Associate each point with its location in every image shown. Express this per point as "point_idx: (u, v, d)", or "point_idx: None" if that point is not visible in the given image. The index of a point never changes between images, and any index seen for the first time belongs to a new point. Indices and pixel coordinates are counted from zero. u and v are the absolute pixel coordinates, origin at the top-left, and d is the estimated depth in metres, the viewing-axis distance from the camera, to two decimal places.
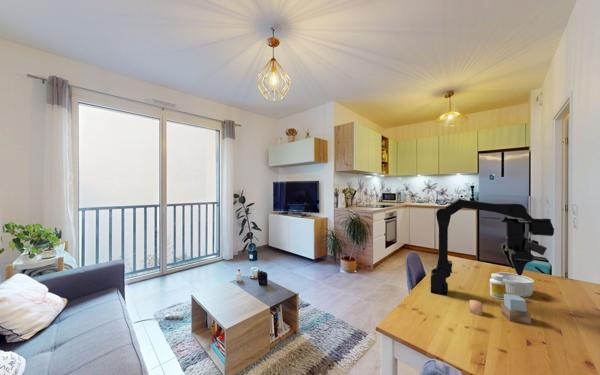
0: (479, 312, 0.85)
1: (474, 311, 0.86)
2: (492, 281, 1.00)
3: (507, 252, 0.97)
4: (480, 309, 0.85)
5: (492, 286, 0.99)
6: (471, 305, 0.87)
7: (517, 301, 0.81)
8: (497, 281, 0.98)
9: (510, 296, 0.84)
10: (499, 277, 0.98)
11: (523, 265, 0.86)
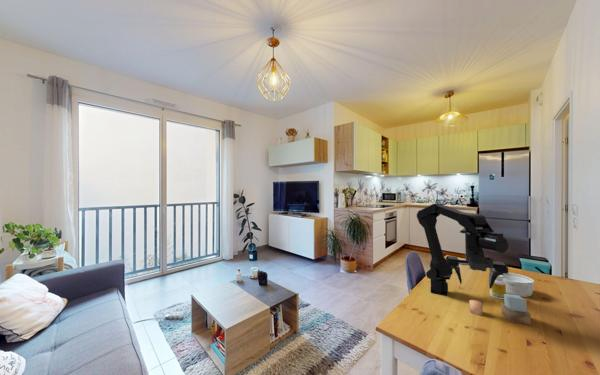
0: (479, 312, 0.85)
1: (474, 311, 0.86)
2: None
3: (490, 270, 0.86)
4: (480, 309, 0.85)
5: (492, 286, 0.99)
6: (471, 305, 0.87)
7: (518, 301, 0.81)
8: (497, 281, 0.98)
9: (510, 296, 0.84)
10: (499, 277, 0.98)
11: None
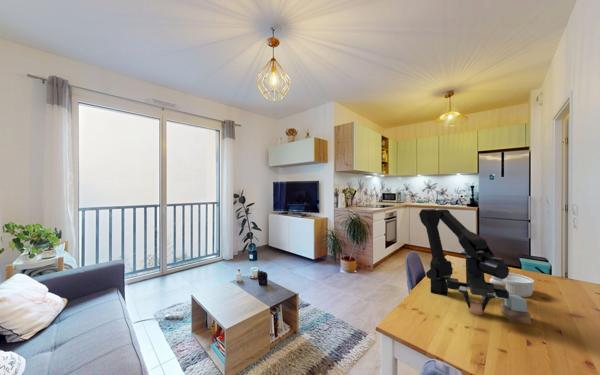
0: (479, 312, 0.85)
1: (474, 311, 0.86)
2: (492, 281, 1.00)
3: None
4: (480, 309, 0.85)
5: None
6: (471, 305, 0.87)
7: (518, 301, 0.81)
8: (497, 281, 0.98)
9: (511, 296, 0.84)
10: None
11: None
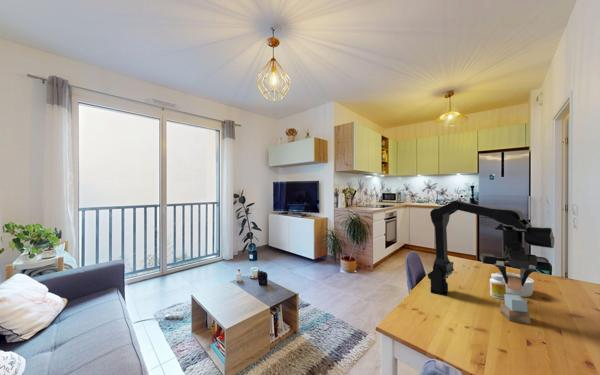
0: (518, 287, 0.81)
1: (513, 286, 0.82)
2: (492, 281, 1.00)
3: None
4: (519, 284, 0.81)
5: (492, 286, 0.99)
6: (509, 280, 0.83)
7: (518, 301, 0.81)
8: (497, 281, 0.98)
9: (511, 296, 0.83)
10: (499, 277, 0.98)
11: None
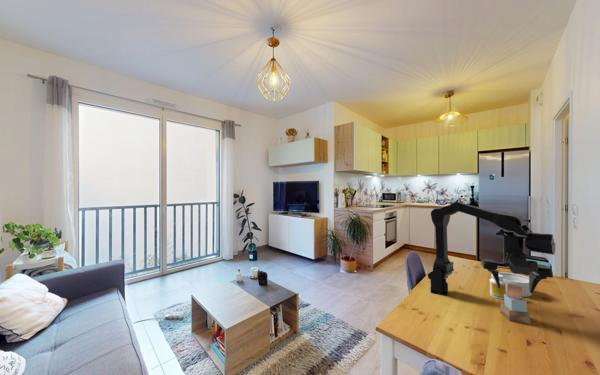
0: (519, 296, 0.81)
1: (513, 295, 0.82)
2: (492, 281, 1.00)
3: (530, 273, 0.82)
4: (520, 293, 0.81)
5: (492, 286, 0.99)
6: (510, 289, 0.83)
7: (518, 301, 0.81)
8: None
9: None
10: (499, 277, 0.98)
11: None
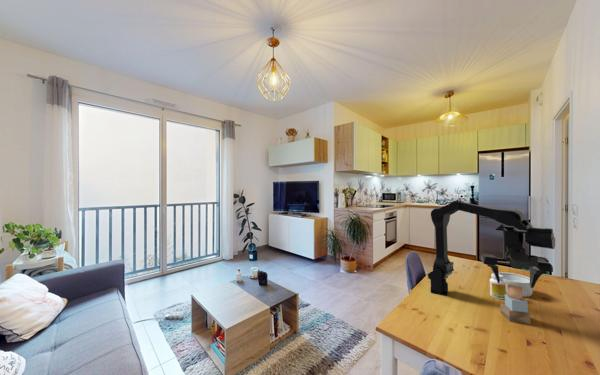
0: (519, 297, 0.81)
1: (514, 296, 0.82)
2: (492, 281, 1.00)
3: (531, 268, 0.82)
4: (520, 293, 0.81)
5: (492, 286, 0.99)
6: (510, 290, 0.83)
7: (519, 302, 0.80)
8: None
9: None
10: (499, 277, 0.98)
11: None
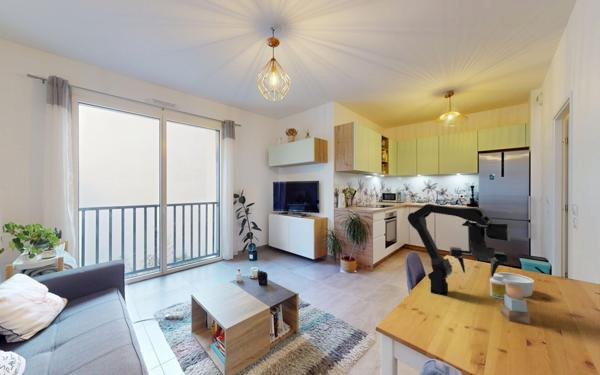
0: (519, 296, 0.81)
1: (513, 295, 0.82)
2: (492, 281, 1.00)
3: (491, 259, 0.92)
4: (520, 293, 0.81)
5: (492, 286, 0.99)
6: (509, 289, 0.83)
7: (518, 301, 0.81)
8: (497, 281, 0.98)
9: None
10: (499, 277, 0.98)
11: None
